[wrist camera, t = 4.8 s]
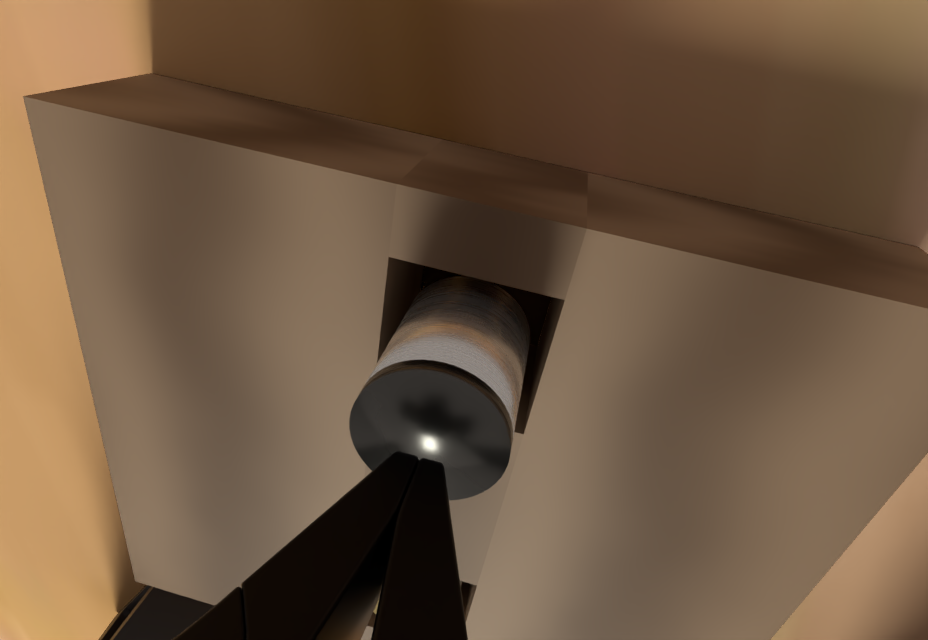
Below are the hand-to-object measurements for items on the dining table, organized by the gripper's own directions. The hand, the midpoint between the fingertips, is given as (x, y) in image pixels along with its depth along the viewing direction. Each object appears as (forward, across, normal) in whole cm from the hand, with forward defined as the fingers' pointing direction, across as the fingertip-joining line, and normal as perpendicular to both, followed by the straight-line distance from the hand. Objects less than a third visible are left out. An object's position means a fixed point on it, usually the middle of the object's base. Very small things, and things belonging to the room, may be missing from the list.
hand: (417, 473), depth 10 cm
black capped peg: (+5, 0, 0) cm, 5 cm away
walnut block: (+8, 0, +5) cm, 9 cm away
